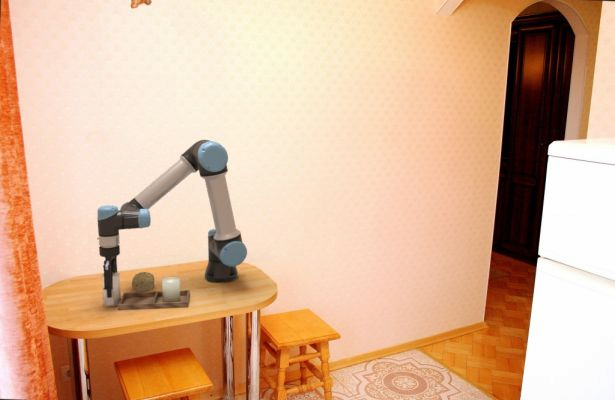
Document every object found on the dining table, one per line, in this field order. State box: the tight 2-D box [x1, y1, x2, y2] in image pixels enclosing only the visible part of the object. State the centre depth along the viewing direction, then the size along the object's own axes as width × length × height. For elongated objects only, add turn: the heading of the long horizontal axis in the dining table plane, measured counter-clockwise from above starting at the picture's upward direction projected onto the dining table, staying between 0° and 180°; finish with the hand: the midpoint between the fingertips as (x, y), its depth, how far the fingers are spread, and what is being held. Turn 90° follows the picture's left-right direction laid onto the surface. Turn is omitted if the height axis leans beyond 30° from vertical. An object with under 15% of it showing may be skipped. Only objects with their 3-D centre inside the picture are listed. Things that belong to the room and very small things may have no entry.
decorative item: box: [131, 271, 155, 292], centre depth 223 cm, size 10×10×10 cm
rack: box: [117, 289, 191, 311], centre depth 208 cm, size 26×13×3 cm, turn 99°
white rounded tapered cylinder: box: [101, 271, 122, 307], centre depth 207 cm, size 6×6×12 cm
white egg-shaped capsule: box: [161, 276, 181, 303], centre depth 208 cm, size 7×7×9 cm
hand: (112, 301), depth 208 cm, fingers closed on white rounded tapered cylinder, 6 cm apart
